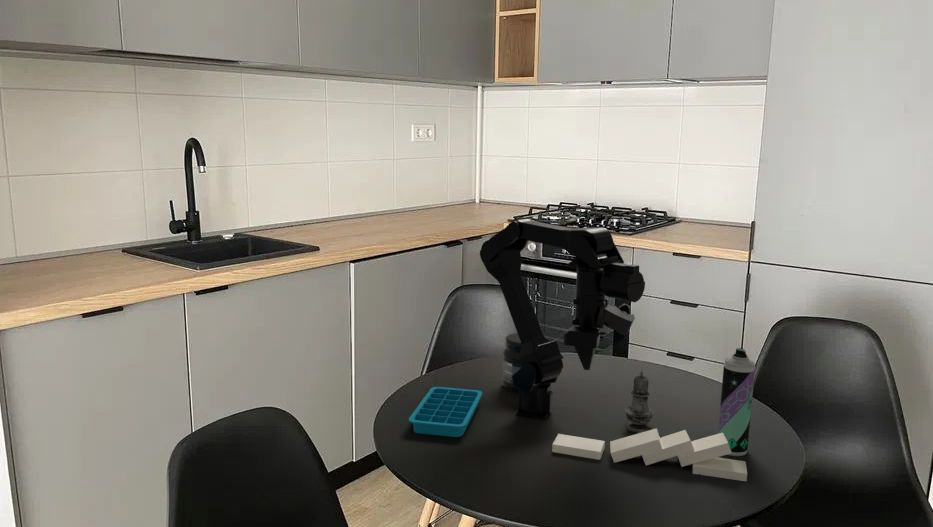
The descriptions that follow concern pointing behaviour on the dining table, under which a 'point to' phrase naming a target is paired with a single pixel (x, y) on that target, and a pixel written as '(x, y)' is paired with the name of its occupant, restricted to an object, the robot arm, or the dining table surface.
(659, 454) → the domino
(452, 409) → the ice cube tray
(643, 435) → the domino
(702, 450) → the domino
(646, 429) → the chess piece
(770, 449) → the dining table surface
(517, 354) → the supplement container
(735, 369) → the spray can
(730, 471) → the domino
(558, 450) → the domino
